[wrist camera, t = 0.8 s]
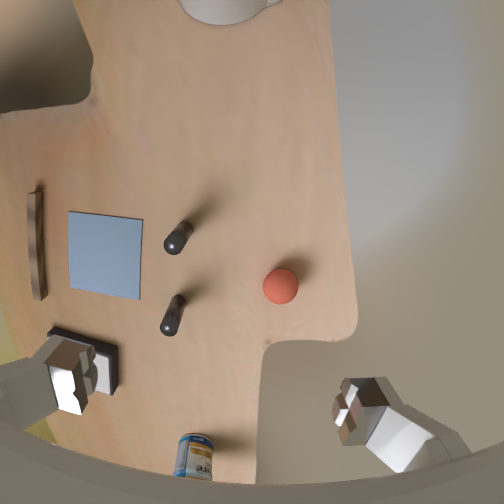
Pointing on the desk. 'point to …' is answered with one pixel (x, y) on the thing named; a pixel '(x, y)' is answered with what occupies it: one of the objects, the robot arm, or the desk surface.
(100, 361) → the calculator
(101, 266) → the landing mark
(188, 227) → the inner post
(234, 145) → the desk surface
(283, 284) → the ball
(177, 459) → the beverage bottle
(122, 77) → the desk surface
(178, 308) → the outer post
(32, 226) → the wall
